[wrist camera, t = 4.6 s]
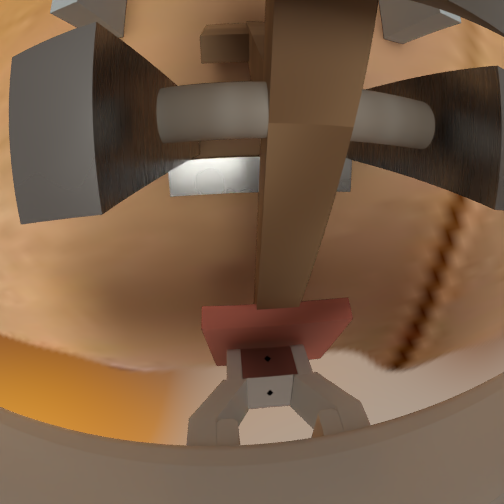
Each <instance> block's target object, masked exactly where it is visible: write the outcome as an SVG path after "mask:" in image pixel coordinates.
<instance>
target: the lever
mask: <svg viewBox="0 0 504 504" xmlns="http://www.w3.org/2000/svg"><path fill="white" fill-rule="evenodd" d="M411 1H415V2H418V3H422V4H425V5H428V6H432V7H435V8H438V9H441V10H444V11H446V12H449V13H452V14H455V15H457V16H460V17H462V18H465V19H467V20H470V21H472V22H474V23H476V24H479V25H481V26H483V27H485V28H487V29H489V30H492V31H494V32H496V33H498V34H499V35H501V36H503V37H504V0H411ZM377 6H378V0H266V8H265V22H254V21H246V23H234V24H213V25H206V27H205V28H204V30H203V32H202V33H201V35H200V47H201V63H202V64H204V63H219V62H248V66H249V70H250V75H251V80H252V81H247V82H218V83H203V84H192V85H182V86H173V87H165V88H161V89H160V90H159V93H158V97H157V108H156V113H157V125H158V131H159V135H160V138H161V140H162V142H163V143H164V144H168V143H178V142H190V141H203V140H220V139H245V138H261V146H260V171H259V195H258V219H257V243H256V266H255V289H254V304H251V305H229V306H202V328H201V329H202V331H203V334H204V336H205V339H206V341H207V344H208V346H209V349H210V351H211V354H212V356H213V358H214V361H215V363H216V365H217V366H227V349H240V352H241V349H251V348H269V347H280V346H290V345H298V344H303V345H304V348H305V351H306V354H307V357H308V360H310V359H319V358H321V357H322V356H323V354H324V353H325V352H326V351H327V350H328V349H329V347H330V346H331V345H332V344H333V343H334V341H335V340H336V339H337V338H338V337H339V335H340V334H341V333H342V332H343V330H344V329H345V328H346V327H347V325H348V324H349V323H350V321H351V320H352V319H353V316H352V312H351V307H350V303H349V299H348V298H337V299H326V300H313V301H301V300H302V297H303V295H304V292H305V289H306V286H307V283H308V280H309V277H310V274H311V271H312V268H313V265H314V262H315V259H316V256H317V253H318V250H319V247H320V244H321V241H322V238H323V235H324V232H325V228H326V225H327V222H328V219H329V215H330V212H331V209H332V205H333V202H334V198H335V195H336V192H337V188H338V185H339V181H340V177H341V174H342V170H343V166H344V163H345V159H346V155H347V151H348V148H349V144H350V141H355V142H366V143H376V144H385V145H393V146H401V147H408V148H415V149H425V148H426V147H428V146H429V144H430V143H431V141H432V139H433V136H434V132H435V119H434V114H433V112H432V110H431V108H430V106H429V105H428V104H427V103H425V102H422V101H418V100H414V99H410V98H406V97H401V96H396V95H391V94H386V93H381V92H375V91H369V90H363V84H364V79H365V74H366V70H367V65H368V59H369V54H370V49H371V43H372V38H373V32H374V26H375V20H376V13H377Z"/></svg>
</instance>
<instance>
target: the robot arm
mask: <svg viewBox="0 0 504 504" xmlns="http://www.w3.org/2000/svg"><path fill="white" fill-rule="evenodd" d="M290 405H291V407H292V408H293V409H294V410H295V411H296V412H297V413H298V414H299V415H300V416H301V417H302V418H303V419H304V420H305V421H306V422H307V423H308V424H309V425H310V426H311V427H312V428H313V429H314V430H313V434H312V437H311V438H308V439H302V440H295V441H287V442H278V443H268V444H255V445H240V439H239V429H238V426H239V425H240V423H241V421H242V420H243V418H244V416H245V415H246V413H247V412H248V409H256V408H265V407H277V406H290ZM0 504H504V372H503V373H501V374H499V375H498V376H496V377H494V378H492V379H490V380H488V381H487V382H484V383H483V384H481V385H478V386H476V387H474V388H472V389H470V390H468V391H466V392H464V393H461V394H459V395H457V396H455V397H453V398H450V399H448V400H445V401H443V402H441V403H438V404H435V405H433V406H430V407H427V408H425V409H422V410H419V411H416V412H413V413H410V414H408V415H405V416H401V417H398V418H395V419H392V420H388V421H385V422H381V423H378V424H374V425H370V423H369V420H368V418H367V416H366V413H365V411H364V408H363V406H362V404H361V402H360V401H359V400H357V399H356V398H354V397H353V396H351V395H349V394H348V393H346V392H345V391H343V390H342V389H340V388H339V387H338V386H336V385H335V384H333V383H332V382H330V381H328V380H327V379H326V378H324V377H323V376H321V375H320V374H318V373H317V372H314V373H313V372H312V369H311V365H310V363H309V360H308V357H307V354H306V351H305V348H304V345H303V344H298V345H290V346H280V347H269V348H251V349H241V352H240V349H227V380H223V381H222V382H221V383H220V384H219V385H218V386H217V388H216V389H215V390H214V391H213V392H212V393H211V394H210V396H209V397H208V398H207V399H206V400H205V401H204V402H203V403H202V405H201V406H200V407H199V408H198V409H197V410H196V411H195V413H193V415H192V416H191V417H190V418H189V424H188V435H187V446H184V445H165V444H154V443H144V442H135V441H127V440H120V439H114V438H108V437H102V436H97V435H92V434H87V433H82V432H78V431H74V430H69V429H65V428H62V427H58V426H54V425H50V424H47V423H44V422H40V421H37V420H34V419H31V418H28V417H25V416H22V415H19V414H17V413H14V412H11V411H9V410H6V409H4V408H1V407H0Z"/></svg>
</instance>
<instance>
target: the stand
mask: <svg viewBox="0 0 504 504" xmlns="http://www.w3.org/2000/svg"><path fill="white" fill-rule="evenodd" d="M173 86H177V85H176V84H175V83H174V82H173V81H171V80H170V79H169V78H168V77H167V76H166V75H164V74H163V73H162V72H161V71H160V70H158V69H157V68H156V67H155V66H154V65H152V64H151V63H150V62H149V61H147V60H146V59H145V58H144V57H142V56H141V55H140V54H139V53H137V52H136V51H135V50H134V49H132V48H131V47H130V46H128V45H127V44H126V43H125V42H123V41H122V40H121V39H119V38H118V37H117V36H115V35H114V34H113V33H111V32H110V31H109V30H107V29H106V28H105V27H103V26H102V25H100V24H99V23H98V22H94V23H91V24H88V25H85V26H82V27H79V28H76V29H73V30H71V31H68V32H66V33H63V34H61V35H58V36H56V37H53V38H51V39H49V40H46V41H44V42H42V43H40V44H38V45H36V46H33V47H31V48H29V49H27V50H25V51H23V52H22V53H20V54H18V55H16V56H14V57H12V65H11V76H10V91H9V137H10V153H11V164H12V173H13V181H14V188H15V195H16V201H17V207H18V212H19V217H20V222H21V224H28V223H35V222H42V221H50V220H58V219H66V218H75V217H84V216H93V215H102V214H104V213H105V212H107V211H108V210H109V209H111V208H112V207H114V206H115V205H117V204H118V203H120V202H121V201H123V200H124V199H126V198H127V197H129V196H130V195H132V194H134V193H135V192H137V191H138V190H140V189H141V188H143V187H145V186H146V185H148V184H149V183H151V182H153V181H154V180H156V179H158V178H159V177H161V176H163V175H164V174H166V173H168V174H169V186H170V197H172V196H187V195H203V194H222V193H246V192H259V171H260V156H238V157H216V158H199V159H192V158H194V157H196V156H198V155H199V154H200V145H199V141H190V142H178V143H168V144H164V143H163V142H162V140H161V138H160V135H159V131H158V125H157V113H156V108H157V97H158V93H159V90H160V89H161V88H165V87H173ZM366 90H369V91H375V92H381V93H386V94H391V95H396V96H401V97H406V98H410V99H414V100H418V101H422V102H425V103H427V104H428V105H429V106H430V108H431V110H432V112H433V114H434V119H435V132H434V136H433V139H432V141H431V143H430V144H429V146H428V147H426V148H425V149H415V148H408V147H401V146H393V145H385V144H376V143H366V142H355V141H350V144H349V148H348V151H347V155H346V159H345V163H344V166H343V170H342V174H341V177H340V181H339V185H338V188H337V192H350V190H351V170H352V160H354V161H358V162H362V163H365V164H369V165H372V166H376V167H379V168H383V169H386V170H390V171H393V172H396V173H399V174H403V175H406V176H409V177H412V178H415V179H418V180H421V181H424V182H427V183H429V184H432V185H435V186H438V187H441V188H443V189H446V190H449V191H451V192H454V193H456V194H459V195H461V196H464V197H466V198H469V199H471V200H474V201H476V202H478V203H481V204H483V205H485V206H488V207H490V208H492V209H494V210H504V69H502V68H501V67H499V66H489V67H479V68H470V69H463V70H456V71H449V72H443V73H437V74H431V75H426V76H421V77H416V78H411V79H407V80H402V81H398V82H393V83H389V84H385V85H381V86H377V87H373V88H370V89H366Z"/></svg>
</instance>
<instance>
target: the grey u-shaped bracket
mask: <svg viewBox="0 0 504 504" xmlns="http://www.w3.org/2000/svg"><path fill="white" fill-rule="evenodd" d="M126 2H127V0H53V1H52V6H51V11H50V13H51V14H53V15H55V16H57V17H59V18H60V19H62V20H64V21H66V22H68V23H70V24H71V25H73V26H75V27H77V28H79V27H82V26H85V25H88V24H91V23H94V22H98V23H99V24H100V25H102V26H103V27H105V28H106V29H107V30H109V31H110V32H111V33H113V34H114V35H115V36H117V37H118V38H120V37H123V34H124V22H125V11H126ZM379 5H380V12H381V19H382V26H383V34H384V39H387V40H390V41H394V42H398V43H401V44H404V43H407V42H409V41H412V40H414V39H417V38H419V37H422V36H425V35H427V34H430V33H433V32H436V31H438V30H441V29H444V28H447V27H450V26H453V25H456V24H460V23H461V19H460V16H457V15H455V14H452V13H449V12H446V11H444V10H441V9H438V8H435V7H432V6H428V5H425V4H422V3H418V2H415V1H411V0H379Z"/></svg>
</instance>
